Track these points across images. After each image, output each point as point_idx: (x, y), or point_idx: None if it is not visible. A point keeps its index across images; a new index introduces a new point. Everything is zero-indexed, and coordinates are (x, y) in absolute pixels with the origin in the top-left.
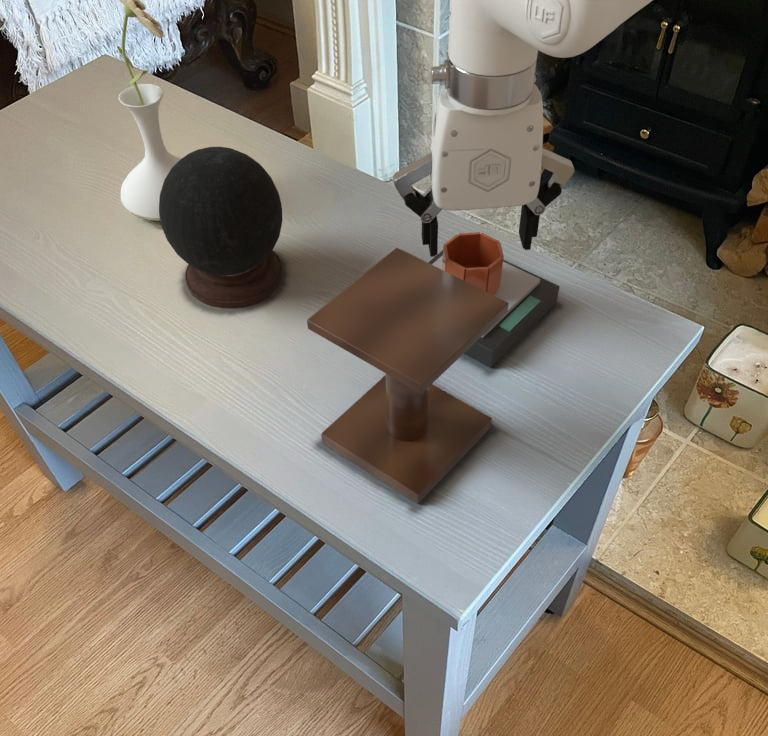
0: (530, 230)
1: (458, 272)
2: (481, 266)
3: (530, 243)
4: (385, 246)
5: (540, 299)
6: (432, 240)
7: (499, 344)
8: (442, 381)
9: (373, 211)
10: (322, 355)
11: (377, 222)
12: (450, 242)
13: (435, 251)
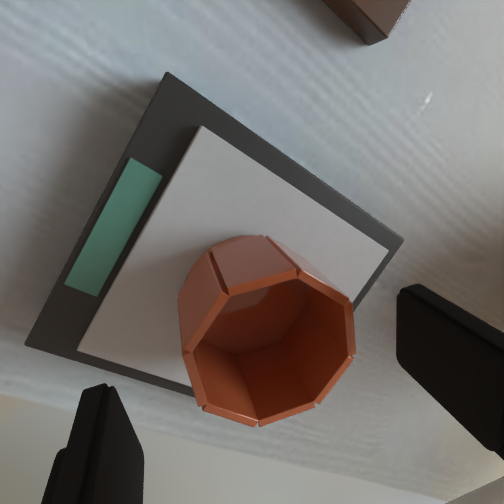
0: (74, 464)
1: (309, 270)
2: (227, 351)
3: (80, 408)
4: (375, 380)
5: (66, 290)
6: (464, 314)
7: (152, 102)
8: (275, 26)
9: (389, 442)
10: (492, 98)
11: (384, 423)
12: (337, 370)
13: (417, 294)
